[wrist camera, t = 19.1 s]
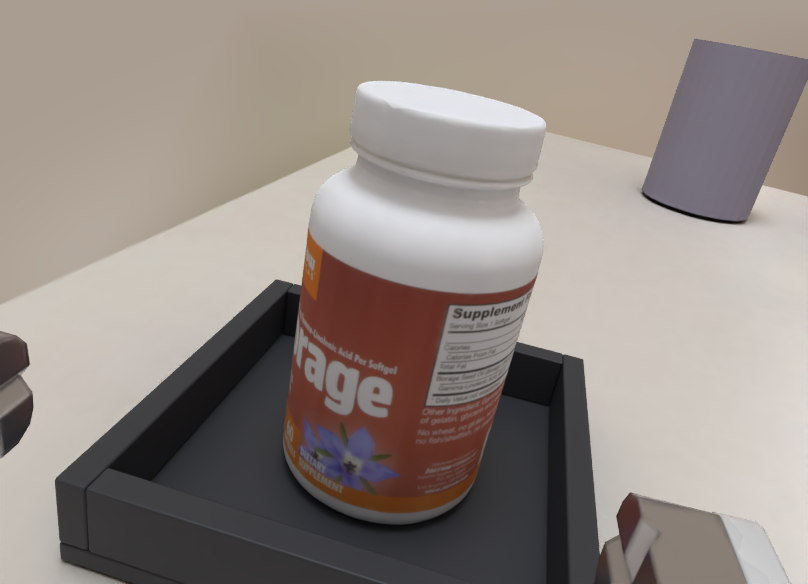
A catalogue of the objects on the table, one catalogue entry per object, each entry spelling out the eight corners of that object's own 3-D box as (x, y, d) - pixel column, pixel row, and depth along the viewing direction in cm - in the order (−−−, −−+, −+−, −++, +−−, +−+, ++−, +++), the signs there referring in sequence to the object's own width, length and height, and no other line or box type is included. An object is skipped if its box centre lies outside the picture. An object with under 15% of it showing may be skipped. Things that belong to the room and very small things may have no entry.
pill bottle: (247, 425, 20) (278, 64, 15) (400, 384, 24) (462, 83, 19) (347, 568, 16) (431, 129, 11) (515, 491, 19) (631, 136, 15)
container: (740, 207, 67) (802, 60, 60) (753, 232, 58) (828, 62, 51) (641, 183, 69) (691, 39, 63) (639, 203, 60) (697, 38, 54)
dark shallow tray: (59, 560, 15) (52, 478, 14) (270, 333, 27) (275, 278, 25) (572, 733, 14) (609, 657, 13) (564, 413, 25) (583, 358, 24)
